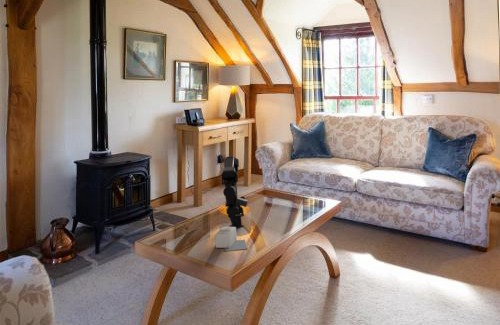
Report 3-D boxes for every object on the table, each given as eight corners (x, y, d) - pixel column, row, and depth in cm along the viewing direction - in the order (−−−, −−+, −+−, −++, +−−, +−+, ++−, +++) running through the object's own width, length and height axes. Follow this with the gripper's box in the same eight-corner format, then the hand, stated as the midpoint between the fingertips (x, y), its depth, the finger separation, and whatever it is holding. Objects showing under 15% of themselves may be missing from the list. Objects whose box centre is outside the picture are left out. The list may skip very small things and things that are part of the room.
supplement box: (236, 226, 210) (228, 234, 198) (237, 240, 211) (229, 248, 199) (222, 226, 212) (214, 233, 200) (223, 239, 213) (215, 248, 201)
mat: (223, 242, 210) (223, 241, 210) (244, 240, 211) (244, 239, 211) (224, 251, 196) (224, 250, 196) (247, 249, 197) (247, 248, 197)
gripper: (247, 196, 200) (249, 226, 202) (244, 189, 219) (246, 216, 221) (225, 198, 199) (227, 228, 201) (224, 190, 218) (226, 218, 220)
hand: (232, 222), depth 211 cm, fingers closed
